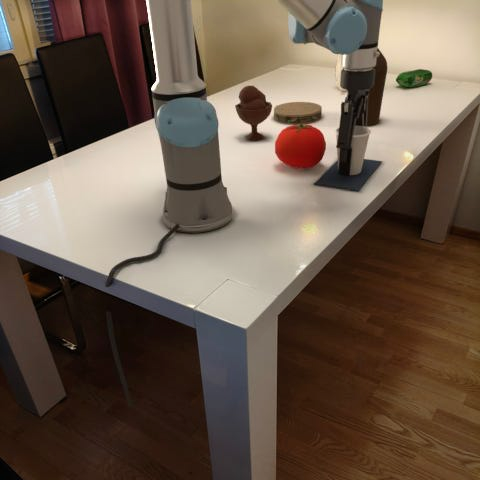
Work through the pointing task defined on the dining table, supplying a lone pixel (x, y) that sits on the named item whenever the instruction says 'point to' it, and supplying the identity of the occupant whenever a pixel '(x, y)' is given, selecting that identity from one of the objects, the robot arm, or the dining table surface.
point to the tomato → (300, 146)
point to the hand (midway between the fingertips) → (349, 167)
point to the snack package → (414, 78)
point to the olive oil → (377, 90)
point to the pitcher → (339, 72)
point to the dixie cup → (357, 148)
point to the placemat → (345, 181)
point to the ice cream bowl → (253, 110)
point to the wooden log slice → (297, 113)
